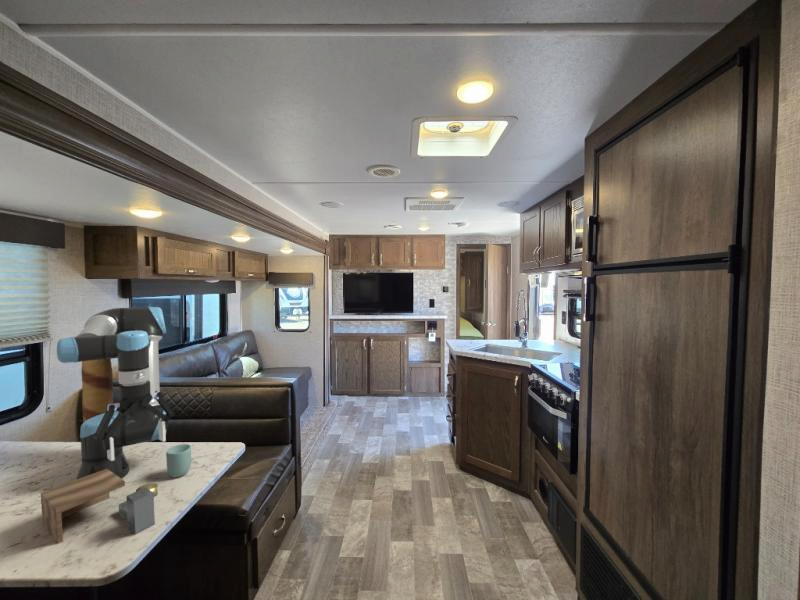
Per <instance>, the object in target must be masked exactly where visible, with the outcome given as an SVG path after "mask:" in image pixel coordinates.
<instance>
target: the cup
mask: <svg viewBox="0 0 800 600" xmlns="http://www.w3.org/2000/svg"><path fill="white" fill-rule="evenodd" d="M165 452H166V453H165V454H166V455H165V457H166V458H165V459H166V460H165V461H166V469H167V473H168V475H169V476H170V477H172V478H181V477H182V476H183V477H184V476H185V475H186V474H188V472H189V471H190V469H191V465H192V447H191V445H190V444H188V443H187V444H186V443H183V444H182V443H181V444H177V445H174V446H171V447H170V448H168V449H167V450H166V451H165Z"/></svg>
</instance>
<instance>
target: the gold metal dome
mask: <svg viewBox="0 0 800 600" xmlns="http://www.w3.org/2000/svg"><path fill="white" fill-rule="evenodd" d="M145 487H146V488H148V489H149V490H151V491H152V492H153V493H154V498H155V497H156V496H157V495H158V493H159V491H158V483H156V482H149V483H146V484H143V485H140V486H138V487H137V488H136V490H135V492H136V491H139V490H141V489H143V488H145Z"/></svg>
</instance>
